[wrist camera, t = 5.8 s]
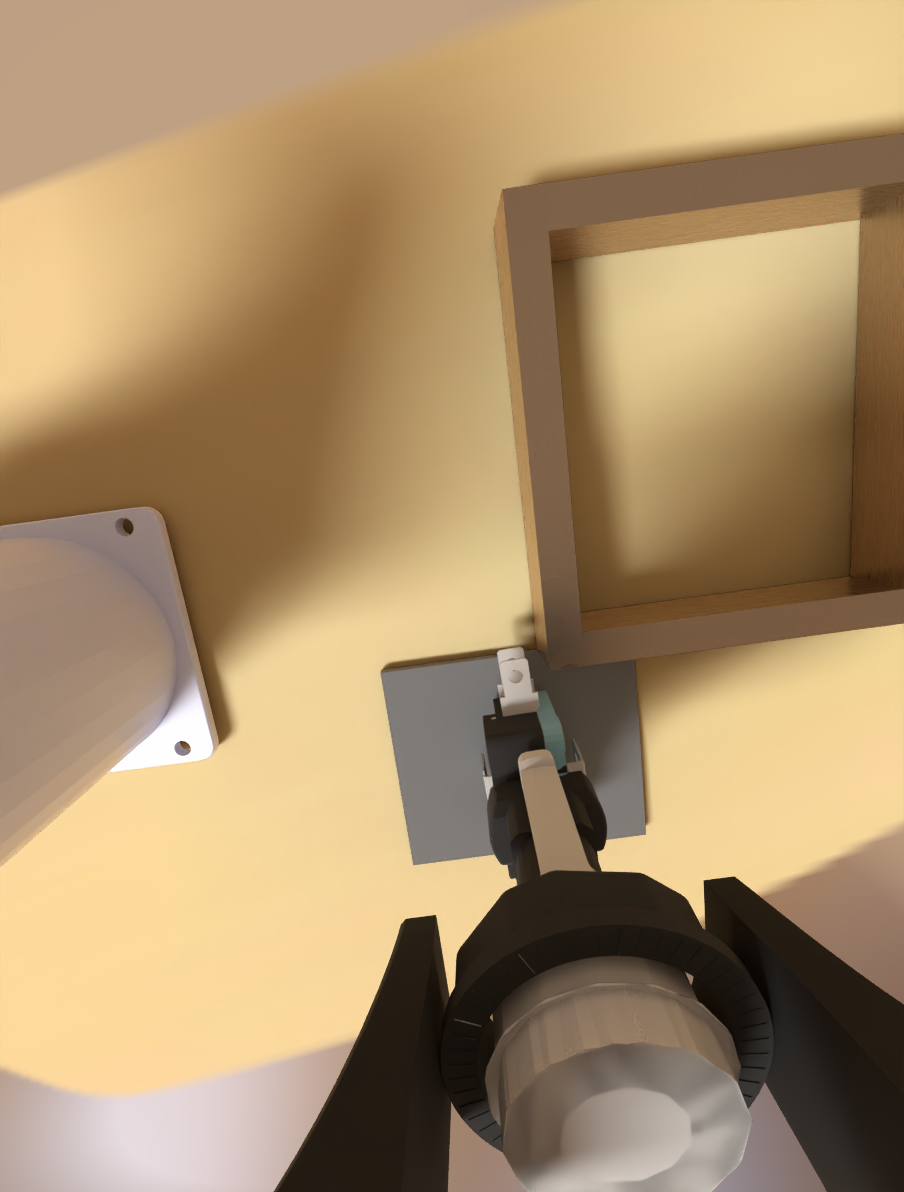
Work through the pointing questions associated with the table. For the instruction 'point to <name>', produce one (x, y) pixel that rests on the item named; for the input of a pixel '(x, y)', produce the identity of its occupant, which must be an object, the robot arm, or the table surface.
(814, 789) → the table surface
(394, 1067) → the robot arm
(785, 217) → the frame
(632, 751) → the mat
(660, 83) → the table surface
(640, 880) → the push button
